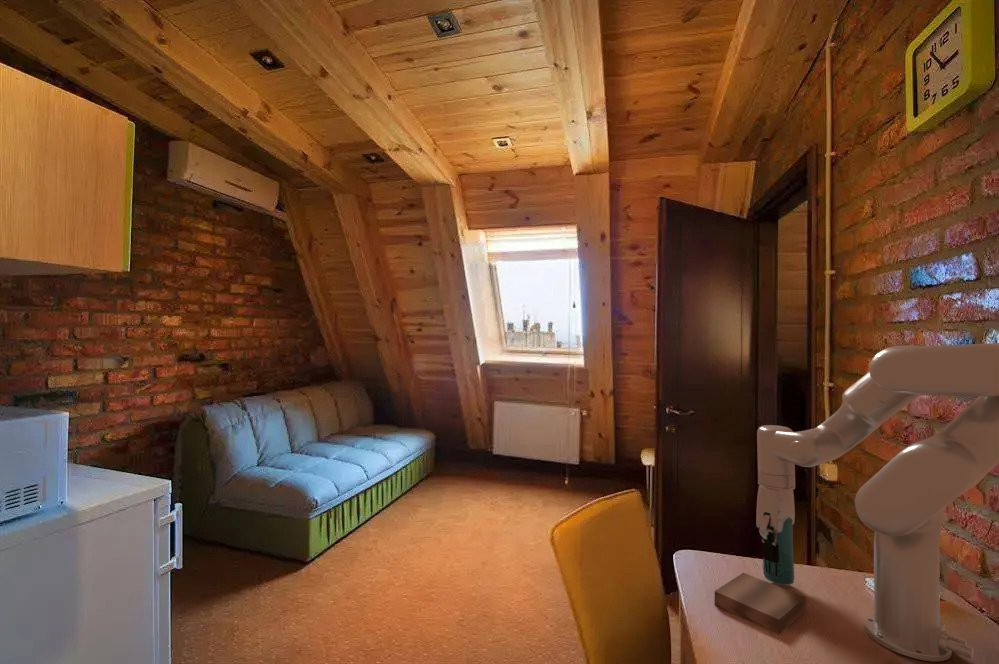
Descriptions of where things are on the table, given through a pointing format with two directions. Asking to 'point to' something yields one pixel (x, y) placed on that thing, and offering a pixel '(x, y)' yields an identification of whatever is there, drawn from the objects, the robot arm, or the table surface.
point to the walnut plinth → (761, 602)
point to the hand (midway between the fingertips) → (777, 555)
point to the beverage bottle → (782, 557)
